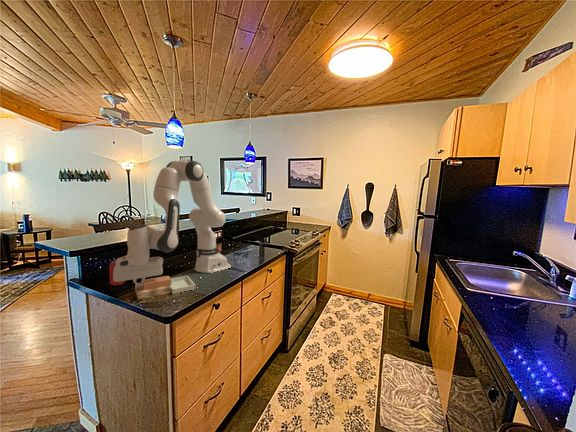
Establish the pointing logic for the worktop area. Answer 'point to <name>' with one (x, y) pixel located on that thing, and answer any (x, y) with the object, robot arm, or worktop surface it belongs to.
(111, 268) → the beer can
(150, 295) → the bench
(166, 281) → the tile
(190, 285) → the tray
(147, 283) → the tile
